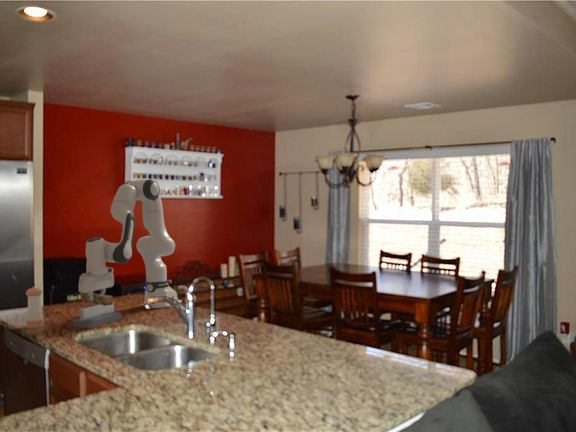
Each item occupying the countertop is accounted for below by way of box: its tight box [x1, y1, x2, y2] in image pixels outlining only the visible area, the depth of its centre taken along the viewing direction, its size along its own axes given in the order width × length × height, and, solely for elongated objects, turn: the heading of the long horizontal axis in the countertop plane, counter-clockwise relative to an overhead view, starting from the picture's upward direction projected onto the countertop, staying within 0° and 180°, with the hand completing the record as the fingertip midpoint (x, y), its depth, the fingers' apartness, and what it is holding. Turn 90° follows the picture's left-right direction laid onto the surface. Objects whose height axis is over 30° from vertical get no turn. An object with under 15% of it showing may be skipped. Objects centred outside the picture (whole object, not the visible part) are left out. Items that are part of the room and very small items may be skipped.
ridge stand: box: [72, 300, 123, 330], centre depth 269 cm, size 22×10×9 cm, turn 155°
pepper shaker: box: [25, 286, 44, 329], centre depth 263 cm, size 7×7×19 cm
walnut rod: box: [81, 292, 114, 306], centre depth 269 cm, size 20×4×4 cm, turn 52°
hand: (97, 299), depth 269 cm, fingers closed on walnut rod, 4 cm apart
